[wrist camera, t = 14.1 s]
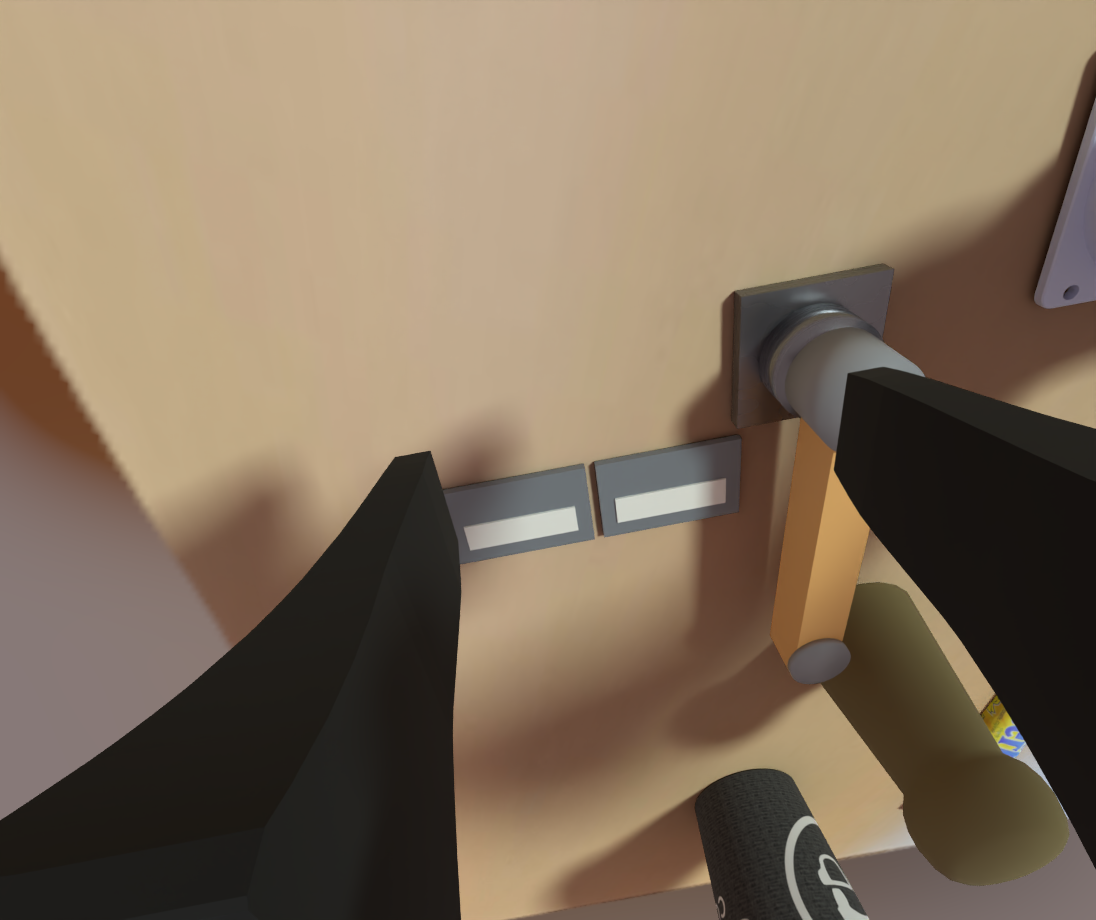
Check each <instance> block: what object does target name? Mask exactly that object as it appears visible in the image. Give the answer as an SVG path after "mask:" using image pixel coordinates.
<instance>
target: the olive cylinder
mask: <svg viewBox="0 0 1096 920" xmlns="http://www.w3.org/2000/svg"><path fill="white" fill-rule="evenodd" d="M842 642H843V643H844V644H845V645H846V647H847V648H848V650H849V652H850V654H851V659H850V662H849V664H848V666H847V667H846V668H845V669H844V670H843V671H842V672H841V673H840V674H838V675H837V676H835V677H834V678H832V679H830V680H827V681H824V682H821V685H822V686H823V687H824V689H825V690H826V691H827V693H828V694H829V695H830V697H831V698H832V699H833V701H834V702H835V703H836V705H837V706H838V707H839V709H840V710H841V711H842V713H843V714H844V715H845V717H846V718H847V719H848V721H849V722H850V723H851V725H852V726H853V727H854V729H855V730H856V731H857V733H858V734H859V735H860V737H861V738H862V739H863V741H864V742H865V743H866V745H867V746H868V747H869V749H870V750H871V752H872V753H873V754H874V756H875V757H876V758H877V760H878V761H879V762H880V764H881V765H882V766H883V768H884V769H885V770H886V772H887V773H888V774H889V776H890V777H891V778H892V780H893V781H894V782H895V784H896V785H897V786H898V788H899V789H900V790H901V792H902V793H903V794H904V801H903V816H904V819H905V823H906V826H907V829H908V832H909V834H910V836H911V838H912V839H913V841H914V843H915V845H916V847H917V848H918V850H919V851H920V852H921V853H922V854H923V856H924V857H925V858H926V859H927V860H928V861H929V863H930V864H931V865H932V866H933V867H934V868H935V869H936V870H937V871H939V872H940V873H941V874H943V875H944V876H946V877H947V878H948V879H950V880H952V881H956V882H959V883H963V884H967V885H975V886H976V885H977V886H978V885H979V886H984V885H991V884H998V883H1002V882H1006V881H1010V880H1014V879H1017V878H1020V877H1023V876H1026V875H1028V874H1030V873H1032V872H1034V871H1036V870H1038V869H1040V868H1041V867H1043V866H1045V865H1046V864H1048V863H1049V862H1051V861H1052V860H1054V859H1055V858H1056V857H1057V856H1058V855H1059V854H1060V853H1061V852H1062V851H1063V849H1064V846H1065V845H1066V843H1067V840H1068V837H1069V829H1068V822H1067V817H1066V815H1065V813H1064V811H1063V809H1062V807H1061V805H1060V803H1059V801H1058V799H1057V797H1056V795H1055V793H1054V792H1053V791H1052V790H1051V788H1050V787H1049V786H1048V785H1047V783H1046V782H1045V781H1044V780H1043V779H1042V777H1041V776H1039V775H1038V774H1037V773H1036V772H1035V771H1034V770H1032V769H1031V768H1030V767H1029V766H1028V765H1026V764H1025V763H1023V762H1021V761H1019V760H1017V759H1015V758H1013V757H1010V756H1008V755H1006V754H1004V753H1003V752H1002V751H1001V749H1000V747H999V746H998V744H997V742H996V741H995V739H994V737H993V736H992V734H991V732H990V731H989V729H988V727H987V726H986V724H985V722H984V720H983V719H982V717H981V715H980V714H979V712H978V710H977V709H976V707H975V705H974V704H973V702H972V700H971V699H970V697H969V695H968V694H967V692H966V690H965V689H964V687H963V685H962V683H961V682H960V680H959V678H958V677H957V675H956V673H955V672H954V670H953V668H952V667H951V665H950V663H949V662H948V660H947V658H946V657H945V655H944V653H943V652H942V650H941V648H940V646H939V645H938V643H937V641H936V640H935V638H934V636H933V635H932V633H931V631H930V630H929V628H928V626H927V625H926V623H925V621H924V620H923V618H922V616H921V615H920V613H919V611H918V609H917V608H916V606H915V604H914V603H913V601H912V599H911V598H910V596H909V594H908V593H907V592H906V591H904V590H903V589H901V588H900V587H898V586H896V585H892V584H886V583H880V582H879V583H868V584H860V585H856V588H855V592H854V596H853V600H852V604H851V608H850V612H849V616H848V620H847V625H846V629H845V633H844V637H843V641H842Z"/></svg>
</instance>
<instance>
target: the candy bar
mask: <svg viewBox="0 0 1096 920" xmlns="http://www.w3.org/2000/svg"><path fill="white" fill-rule="evenodd" d="M981 717H982V719H983V720H984V722H985V724H986V726H987V727H988V729H989V731H990V732H991V734H992V736H993V737H994V739H995V741H996V742H997V744H998V746H999V747H1000V749H1001V751H1002V752H1003V753H1004V754H1006V755H1008V756H1010V757H1013V758H1016V757H1017V755H1018V754H1019V753H1020V752H1021V750H1022V749H1023V748H1024V747H1025V745H1026V742H1025V741H1024V739H1023V737H1022V736H1021V734H1020V732H1019V731H1018V729H1017V728H1016V726H1015V724H1014V723H1013V721H1012V719H1011V718H1010V716H1009V715H1008V713H1007V711H1006V710H1005V708H1004V706H1003V705H1002V703H1001V702H1000V700H999V698H998V697H997V695H996V696H995V698H994V699H993V700H992V701H991V703H990V704H989V705H988V707H987V708H986V709H985V711H984V712H983V713H982V714H981Z"/></svg>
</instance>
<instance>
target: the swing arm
mask: <svg viewBox="0 0 1096 920" xmlns="http://www.w3.org/2000/svg"><path fill="white" fill-rule="evenodd" d="M878 367H888V368H892V369H897V370H901V371H905V372H909V373H912V374H916V375H919V376H923V377H925V376H924V374H923V372H922V371H921V370H920V369H919V368H918V367H917V366H916V365H915V364H913V363H912V362H910V361H909V360H908V359H906V358H905V357H903V356H902V355H901V354H899V353H898V352H896V351H895V350H893V349H892V348H891V347H889V346H888V345H886V344H885V343H884V342H882V341H881V340H879V339H878V338H877V337H875V336H874V335H872V334H871V333H869V332H867V331H866V330H863V329H860V328H855V327H845V328H838V329H834V330H831V331H828V332H826V333H824V334H821V335H820V336H818V337H816V338H815V339H813V340H812V341H810V342H809V343H808V344H807V345H806V346H805V347H804V348H803V349H802V350H801V351H800V352H799V353H798V354H797V356H796V357H795V358H794V360H793V362H792V363H791V365H790V367H789V369H788V372H787V375H786V380H785V393H786V397H787V400H788V402H789V404H790V405H791V406H792V408H793V409H794V410H795V411H796V412H797V413H798V414H799V415H800V416H801V420H800V427H799V434H798V441H797V448H796V455H795V462H794V469H793V476H792V483H791V490H790V498H789V505H788V512H787V519H786V526H785V533H784V540H783V547H782V554H781V561H780V568H779V575H778V582H777V589H776V596H775V603H774V610H773V617H772V624H771V631H770V636H771V638H772V640H773V642H774V644H775V646H776V648H777V650H778V652H779V654H780V655H781V657H782V659H783V661H784V663H785V665H786V667H787V669H788V671H789V673H790V675H791V677H792V678H793V679H794V680H795V681H797V682H799V683H803V684H816V683H821V682H824V681H827V680H830V679H832V678H834V677H835V676H837V675H838V674H840V673H841V672H842V671H843V670H844V669H845V668H846V667H847V666H848V664H849V662H850V659H851V654H850V652H849V650H848V648H847V647H846V645H845V644H844V643H843V642H842V641H843V637H844V633H845V629H846V625H847V620H848V616H849V612H850V608H851V604H852V600H853V596H854V592H855V588H856V584H857V580H858V576H859V571H860V567H861V563H862V559H863V555H864V551H865V547H866V543H867V539H868V535H869V531H870V527H869V526H868V525H867V524H866V522H865V521H864V520H863V518H862V517H861V516H860V514H859V513H858V511H857V510H856V508H855V506H854V505H853V503H852V501H851V500H850V498H849V497H848V495H847V493H846V491H845V490H844V488H843V486H842V484H841V483H840V481H839V479H838V477H837V475H836V474H835V472H834V464H835V457H836V450H837V443H838V436H839V429H840V422H841V415H842V408H843V401H844V394H845V387H846V381H847V374H848V373H851V372H856V371H862V370H867V369H872V368H878Z"/></svg>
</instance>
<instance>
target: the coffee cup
mask: <svg viewBox="0 0 1096 920" xmlns="http://www.w3.org/2000/svg"><path fill="white" fill-rule="evenodd" d="M695 812H696V816H697V821H698V825H699V830H700V835H701V839H702V844H703V848H704V853H705V857H706V862H707V867H708V871H709V876H710V880H711V885H712V889H713V894H714V899H715V903H716V908H717V912H718V917H719V920H869V918H868V916H867V915H866V913H865V911H864V909H863V907H862V905H861V904H860V902H859V900H858V898H857V896H856V894H855V892H854V891H853V889H852V887H851V885H850V883H849V881H848V879H847V878H846V876H845V874H844V872H843V871H842V868H841V867H840V865H839V863H838V861H837V859H836V857H835V856H834V854H833V852H832V850H831V848H830V846H829V845H828V843H827V841H826V839H825V837H824V835H823V833H822V832H821V830H820V828H819V826H818V824H817V822H816V821H815V819H814V817H813V815H812V813H811V811H810V809H809V808H808V806H807V804H806V802H805V800H804V798H803V797H802V795H801V793H800V791H799V789H798V787H797V786H796V784H795V782H794V780H793V779H792V778H791V777H790V776H789V775H788V774H786V773H784V772H781V771H777V770H771V769H756V770H748V771H743V772H739V773H736V774H733V775H730V776H727V777H725V778H723V779H721V780H719V781H717V782H715V783H713V784H712V785H710V786H709V787H708V788H706V789H705V790H704V791H703V792H702V793H701V794H700V796H699V797H698V799H697V801H696V803H695Z"/></svg>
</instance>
